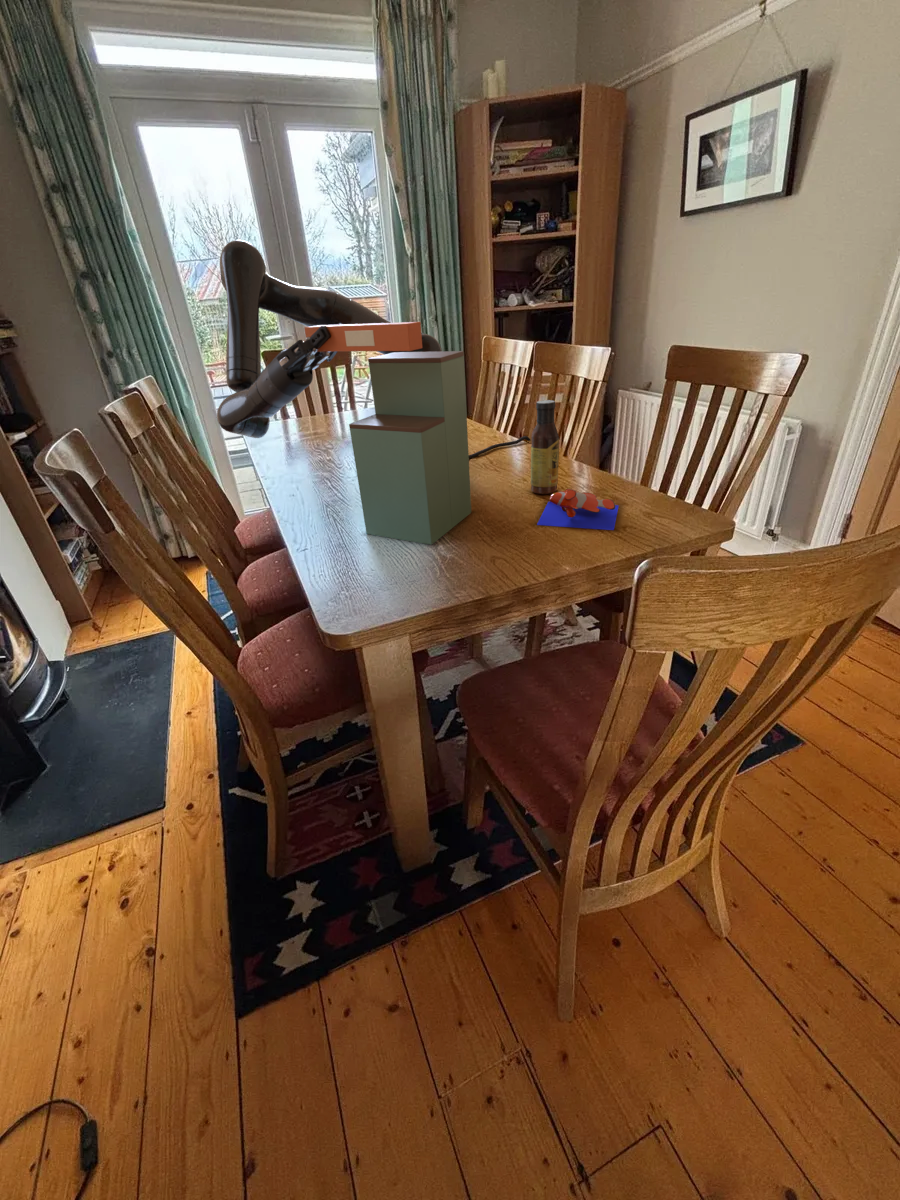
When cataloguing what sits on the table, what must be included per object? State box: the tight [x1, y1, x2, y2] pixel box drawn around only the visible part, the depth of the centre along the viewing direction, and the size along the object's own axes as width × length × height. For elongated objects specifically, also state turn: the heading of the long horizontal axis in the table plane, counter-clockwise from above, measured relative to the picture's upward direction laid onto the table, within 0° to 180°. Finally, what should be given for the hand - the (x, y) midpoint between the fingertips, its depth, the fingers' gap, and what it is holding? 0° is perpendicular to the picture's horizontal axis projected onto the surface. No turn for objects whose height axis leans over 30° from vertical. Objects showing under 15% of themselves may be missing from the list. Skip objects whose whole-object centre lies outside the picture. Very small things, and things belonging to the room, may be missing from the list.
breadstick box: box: [303, 321, 422, 352], centre depth 92 cm, size 22×4×4 cm, turn 62°
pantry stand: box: [348, 350, 472, 546], centre depth 103 cm, size 16×18×32 cm
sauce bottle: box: [530, 399, 560, 495], centre depth 118 cm, size 7×6×20 cm
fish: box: [548, 488, 617, 518], centre depth 108 cm, size 13×5×9 cm
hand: (335, 329), depth 94 cm, fingers closed on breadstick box, 4 cm apart
